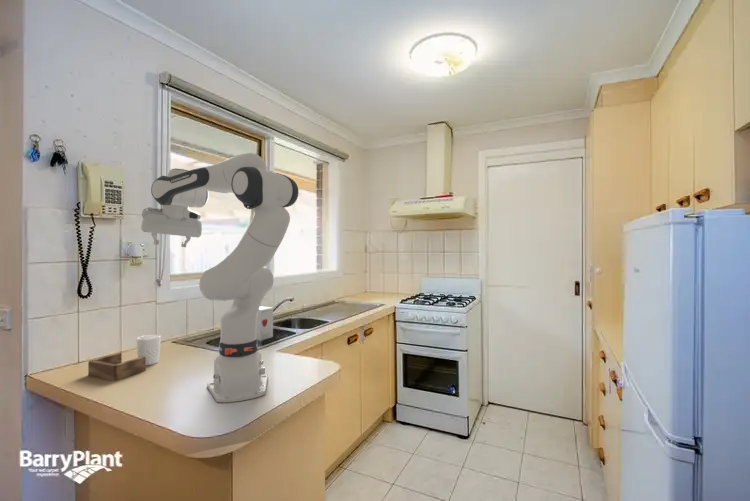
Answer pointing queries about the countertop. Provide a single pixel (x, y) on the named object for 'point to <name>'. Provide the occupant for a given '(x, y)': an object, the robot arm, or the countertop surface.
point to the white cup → (149, 348)
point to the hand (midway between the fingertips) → (170, 245)
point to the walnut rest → (115, 367)
